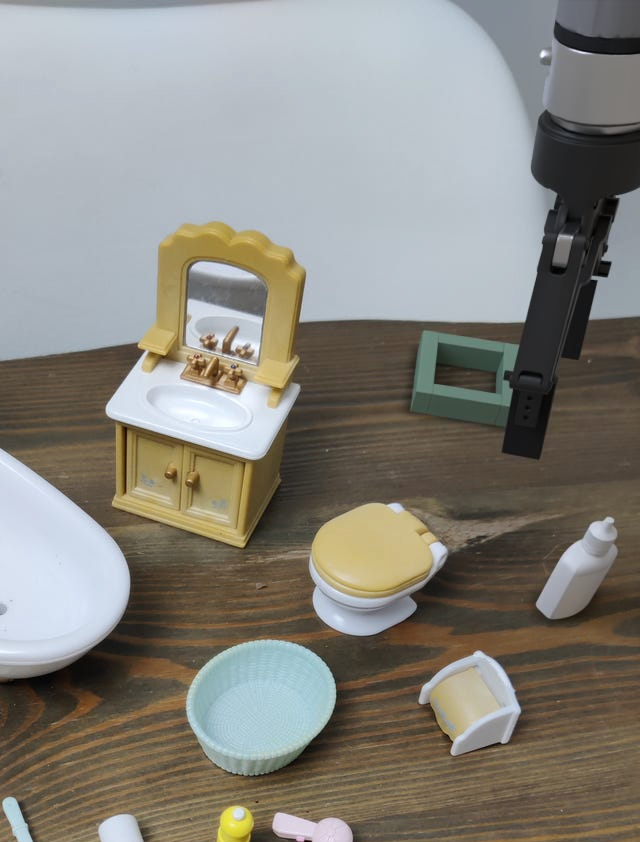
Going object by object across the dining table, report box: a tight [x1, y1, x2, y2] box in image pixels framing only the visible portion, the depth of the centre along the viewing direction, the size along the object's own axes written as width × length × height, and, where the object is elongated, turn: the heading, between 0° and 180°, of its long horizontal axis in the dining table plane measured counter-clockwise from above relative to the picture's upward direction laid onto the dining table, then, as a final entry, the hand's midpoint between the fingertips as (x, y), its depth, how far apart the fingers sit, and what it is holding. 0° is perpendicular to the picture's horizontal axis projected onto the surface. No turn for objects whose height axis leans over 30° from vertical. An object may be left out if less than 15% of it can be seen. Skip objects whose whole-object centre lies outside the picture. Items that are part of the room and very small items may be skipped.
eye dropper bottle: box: [535, 516, 619, 620], centre depth 89 cm, size 4×6×12 cm
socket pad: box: [409, 329, 520, 428], centre depth 111 cm, size 11×11×4 cm
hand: (542, 402), depth 76 cm, fingers open, 13 cm apart
